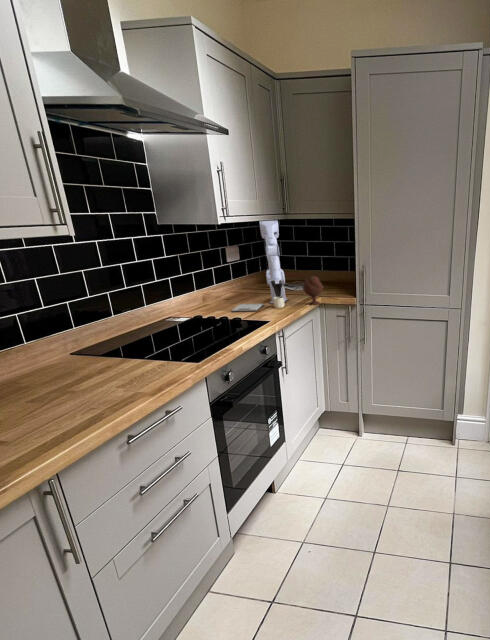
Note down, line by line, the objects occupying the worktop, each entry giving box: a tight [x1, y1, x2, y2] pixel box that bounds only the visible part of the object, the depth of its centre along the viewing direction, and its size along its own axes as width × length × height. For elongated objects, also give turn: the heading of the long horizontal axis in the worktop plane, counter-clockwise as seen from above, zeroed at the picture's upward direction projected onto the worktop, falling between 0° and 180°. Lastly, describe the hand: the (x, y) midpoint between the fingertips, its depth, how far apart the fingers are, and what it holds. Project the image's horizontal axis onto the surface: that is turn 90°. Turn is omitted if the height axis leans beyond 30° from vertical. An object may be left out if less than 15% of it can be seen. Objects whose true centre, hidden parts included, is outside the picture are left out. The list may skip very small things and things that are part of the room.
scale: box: [231, 303, 265, 313], centre depth 231 cm, size 14×13×1 cm
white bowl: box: [272, 297, 286, 309], centre depth 233 cm, size 6×6×5 cm
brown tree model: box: [302, 275, 324, 306], centre depth 236 cm, size 11×11×15 cm
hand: (277, 295), depth 231 cm, fingers open, 7 cm apart
